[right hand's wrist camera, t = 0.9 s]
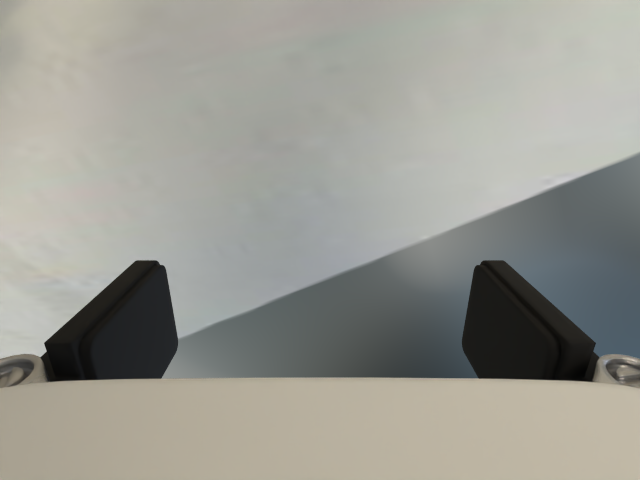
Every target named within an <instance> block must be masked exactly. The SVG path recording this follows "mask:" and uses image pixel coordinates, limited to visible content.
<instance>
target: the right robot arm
mask: <svg viewBox="0 0 640 480" xmlns="http://www.w3.org/2000/svg"><path fill="white" fill-rule="evenodd" d="M44 344H45V347H46V350H47V352H46V353H45V354H44V355H43V356H42V357H38V356H36V355H31V354H21V355H14V356H10V357H6V358H2V359H0V480H640V359H638V358H634V357H630V356H626V355H619V354H609V355H604V356H602V357H598V356H597V355H596V354H595V353H594V352H593V350H594V347H595V344H596V343H595V342H594V341H593V340H592V339H591V338H590V337H588V336H587V335H586V334H585V333H584V332H583V331H582V330H581V329H580V328H578V327H577V326H576V325H575V324H574V323H573V322H572V321H571V320H569V319H568V318H567V317H566V316H565V315H564V314H563V313H562V312H561V311H560V310H558V309H557V308H556V307H555V306H554V305H553V304H552V303H551V302H550V301H548V300H547V299H546V298H545V297H544V296H543V295H542V294H541V293H539V292H538V291H537V290H536V289H535V288H534V287H533V286H532V285H531V284H529V283H528V282H527V281H526V280H525V279H524V278H523V277H522V276H521V275H519V274H518V273H517V272H516V271H515V270H514V269H513V268H512V267H511V266H509V265H508V264H507V263H506V262H505V261H482V262H481V264H480V265H477V266H476V267H475V269H474V273H473V279H472V285H471V291H470V296H469V302H468V308H467V314H466V320H465V326H464V331H463V337H462V347H463V351H464V353H465V355H466V356H467V358H468V360H469V362H470V364H471V365H472V367H473V369H474V371H475V372H476V374H477V376H478V378H479V379H456V378H184V379H161V378H162V376H163V374H164V373H165V371H166V369H167V367H168V365H169V364H170V362H171V360H172V358H173V357H174V355H175V353H176V351H177V347H178V337H177V331H176V326H175V320H174V314H173V308H172V302H171V296H170V290H169V285H168V279H167V273H166V268H165V267H164V266H163V265H160V264H159V262H158V261H135V262H134V263H133V264H132V265H131V266H129V267H128V268H127V269H126V270H125V271H124V272H123V273H122V274H121V275H119V276H118V277H117V278H116V279H115V280H114V281H113V282H112V283H111V284H109V285H108V286H107V287H106V288H105V289H104V290H103V291H102V292H101V293H99V294H98V295H97V296H96V297H95V298H94V299H93V300H92V301H90V302H89V303H88V304H87V305H86V306H85V307H84V308H83V309H82V310H80V311H79V312H78V313H77V314H76V315H75V316H74V317H73V318H72V319H70V320H69V321H68V322H67V323H66V324H65V325H64V326H63V327H62V328H60V329H59V330H58V331H57V332H56V333H55V334H54V335H53V336H52V337H50V338H49V339H48V340H47V341H46V342H45V343H44Z"/></svg>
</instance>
